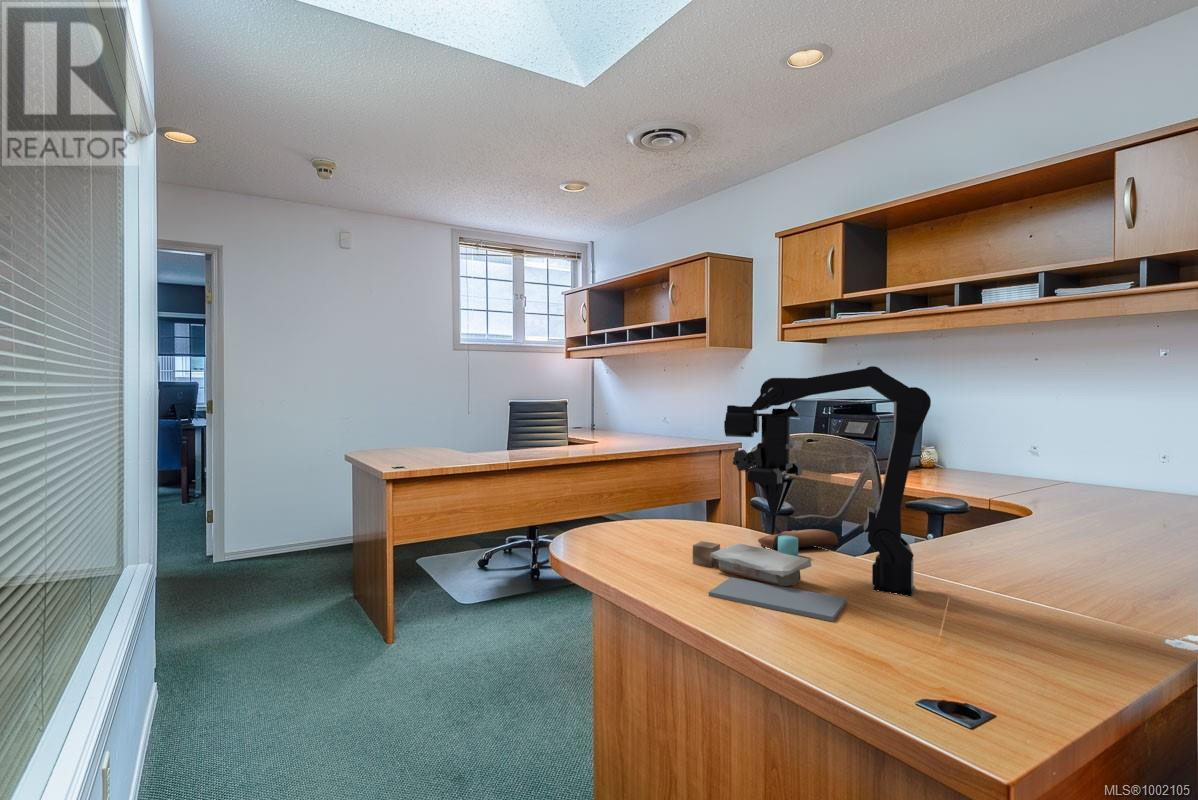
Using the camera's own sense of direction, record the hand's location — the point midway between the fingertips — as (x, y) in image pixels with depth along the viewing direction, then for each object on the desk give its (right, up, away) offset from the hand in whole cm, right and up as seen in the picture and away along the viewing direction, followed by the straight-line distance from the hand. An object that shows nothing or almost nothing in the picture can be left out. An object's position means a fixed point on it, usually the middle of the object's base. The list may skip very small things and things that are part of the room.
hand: (775, 513), depth 123 cm
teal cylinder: (+7, -13, +15) cm, 21 cm away
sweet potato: (+12, -14, +25) cm, 30 cm away
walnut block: (-13, -13, +8) cm, 20 cm away
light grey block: (0, -10, +2) cm, 10 cm away
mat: (-4, -13, -15) cm, 20 cm away
